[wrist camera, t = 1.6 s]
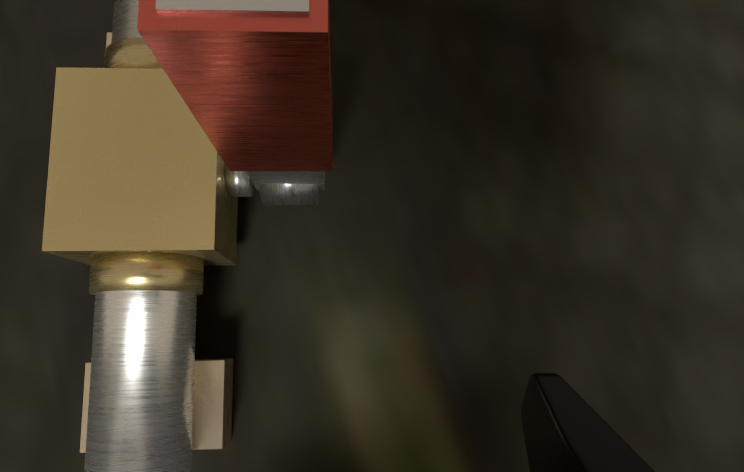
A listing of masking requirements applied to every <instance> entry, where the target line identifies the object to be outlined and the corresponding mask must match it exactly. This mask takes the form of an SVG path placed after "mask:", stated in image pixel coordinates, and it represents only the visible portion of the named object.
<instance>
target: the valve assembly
mask: <svg viewBox="0 0 744 472" xmlns="http://www.w3.org/2000/svg"><path fill="white" fill-rule="evenodd" d="M138 5H139V0H117V1H116V2H115V4H114V11H113V27H112V33H107V42H106V49H105V53H104V68H56V81H55V93H54V106H53V118H52V131H51V143H50V156H49V169H48V181H47V194H46V206H45V219H44V231H43V244H42V251H43V252H47V253H50V254H54V255H57V256H61V257H64V258H68V259H71V260H75V261H78V262H82V263H85V264H89V265H91V268H90V283H89V294H93V295H95V311H94V327H93V342H92V358H91V362H90V363H86V366H85V381H84V396H83V412H82V427H81V443H80V453H85V468H84V472H190V471H191V453H192V450H195V449H222V448H223V447H224V446H225V445H227V444H228V443H229V442H230V441H231V440H232V397H233V358H229V359H195V336H196V307H197V296H199V295H203V276H204V265H236V254H237V210H238V197H252V196H253V192H254V184H253V183H252V181H251V179H250V177H249V176H248V174H247V172H246V171H230V170H229V169H228V167H227V166H226V164H225V163H224V161H223V160H222V158H221V157H220V155H219V154H218V152H217V151H216V149H215V148H214V146H213V145H212V143H211V141H210V140H209V138H208V137H207V135H206V134H205V132H204V131H203V129H202V128H201V126H200V125H199V123H198V122H197V120H196V119H195V117H194V116H193V114H192V113H191V111H190V109H189V108H188V106H187V105H186V103H185V102H184V100H183V99H182V97H181V96H180V94H179V93H178V91H177V90H176V88H175V87H174V85H173V84H172V82H171V81H170V79H169V77H168V76H167V74H166V73H165V71H164V70H163V68H162V67H161V65H160V64H159V62H158V61H157V59H156V58H155V56H154V55H153V53H152V52H151V50H150V49H149V47H148V45H147V44H146V42H145V41H144V39H143V38H142V36H141V35H140V33H139V32H138V30H137V23H138Z"/></svg>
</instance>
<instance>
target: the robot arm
mask: <svg viewBox="0 0 744 472" xmlns="http://www.w3.org/2000/svg"><path fill="white" fill-rule="evenodd" d="M521 420H522V426H523V432H524V438H525V444H526V450H527V456H528V462H529V467H530V472H655V471H654V470H653V469H652V468H651V467H650V466H649V465H648V464H647V463H646V462H645V461H644V460H643V459H642V458H641V457H640V456H639V455H638V454H637V453H636V452H635V451H634V450H633V449H632V448H631V447H630V446H629V445H628V444H627V443H626V442H625V441H624V440H623V439H622V438H621V437H620V436H619V435H618V434H617V433H616V432H615V431H614V430H613V429H612V428H611V427H610V426H609V425H608V424H607V423H606V422H605V421H604V420H603V419H602V418H601V417H600V416H599V415H598V414H597V413H596V412H595V411H594V410H593V409H592V408H591V407H590V406H589V405H588V404H587V403H586V402H585V401H584V400H583V399H582V398H581V397H580V396H579V395H578V394H577V393H576V392H575V391H574V390H573V389H572V388H571V387H570V386H569V385H568V384H567V383H566V382H565V381H564V380H563V379H562V378H561V377H560V376H559V375H557V374H554V373H535V374H533V375H531V377H530V379H529V382H528V385H527V389H526V392H525V396H524V399H523V402H522V406H521Z"/></svg>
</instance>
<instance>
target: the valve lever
mask: <svg viewBox="0 0 744 472" xmlns="http://www.w3.org/2000/svg"><path fill="white" fill-rule="evenodd" d="M137 30H138V32H139V33H140V35H141V36H142V38H143V39H144V41H145V42H146V44H147V45H148V47H149V49H150V50H151V52H152V53H153V55H154V56H155V58H156V59H157V61H158V62H159V64H160V65H161V67H162V68H163V70H164V71H165V73H166V74H167V76H168V77H169V79H170V81H171V82H172V84H173V85H174V87H175V88H176V90H177V91H178V93H179V94H180V96H181V97H182V99H183V100H184V102H185V103H186V105H187V106H188V108H189V109H190V111H191V113H192V114H193V116H194V117H195V119H196V120H197V122H198V123H199V125H200V126H201V128H202V129H203V131H204V132H205V134H206V135H207V137H208V138H209V140H210V141H211V143H212V145H213V146H214V148H215V149H216V151H217V152H218V154H219V155H220V157H221V158H222V160H223V161H224V163H225V164H226V166H227V167H228V169H229V170H230V171H246V172H247V174H248V176H249V177H250V179H251V181H252V183H253V184H254V186H255V188H256V190H257V191H260V197H261V202H262V204H263V205H320V190H325V171H333V149H332V82H331V42H330V3H329V0H139V5H138V23H137Z"/></svg>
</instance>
